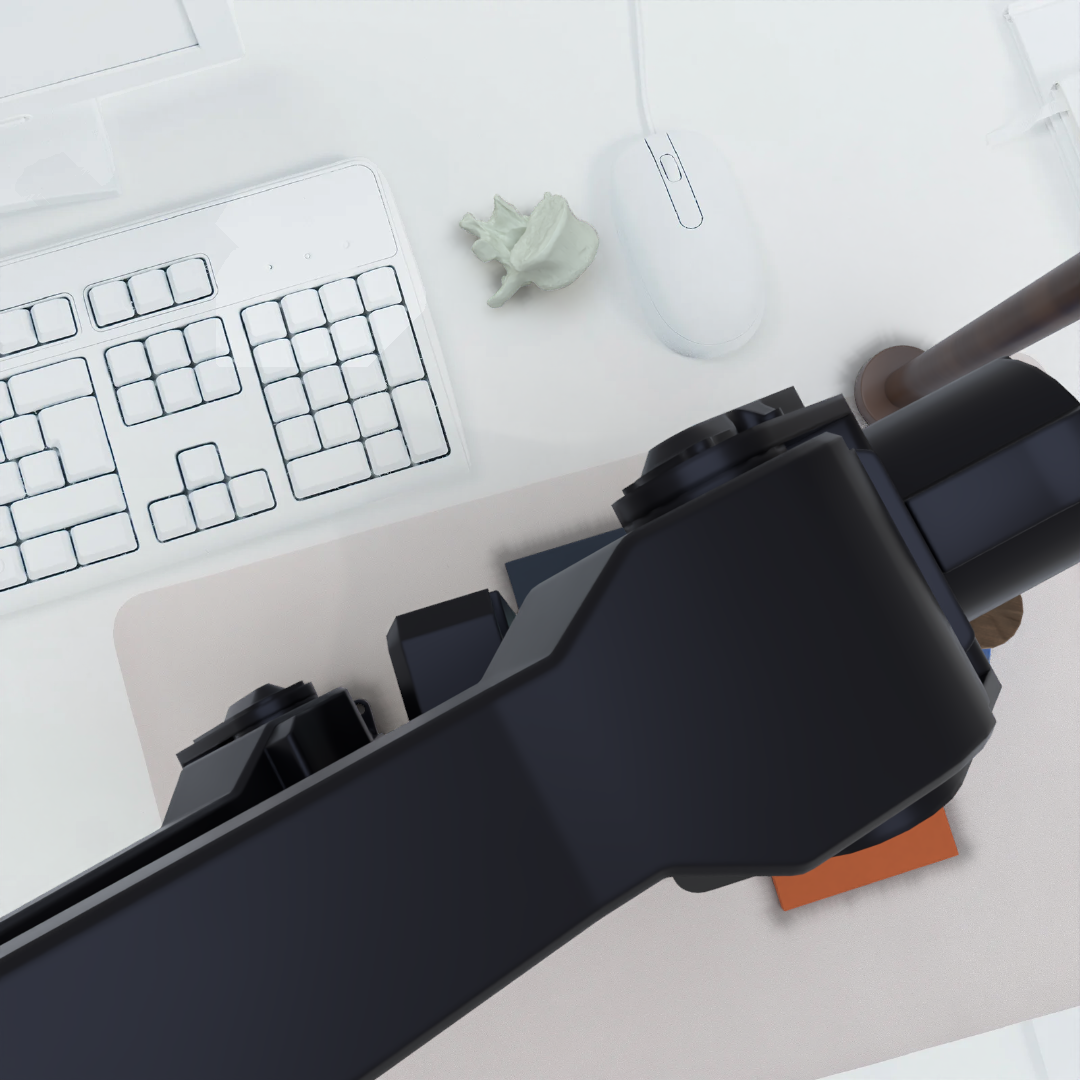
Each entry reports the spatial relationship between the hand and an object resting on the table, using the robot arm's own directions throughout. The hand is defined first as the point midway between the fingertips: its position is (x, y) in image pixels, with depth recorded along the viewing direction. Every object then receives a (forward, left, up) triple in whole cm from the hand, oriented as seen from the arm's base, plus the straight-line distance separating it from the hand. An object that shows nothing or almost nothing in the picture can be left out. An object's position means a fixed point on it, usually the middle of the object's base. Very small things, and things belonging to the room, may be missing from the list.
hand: (631, 624), depth 45 cm
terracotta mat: (+8, -11, -6) cm, 15 cm away
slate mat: (0, 0, -6) cm, 6 cm away
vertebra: (0, +20, -2) cm, 20 cm away
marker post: (+17, +7, -6) cm, 19 cm away
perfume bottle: (+12, -3, -6) cm, 14 cm away
